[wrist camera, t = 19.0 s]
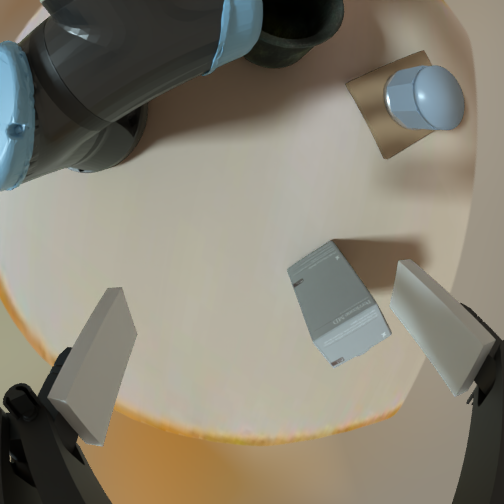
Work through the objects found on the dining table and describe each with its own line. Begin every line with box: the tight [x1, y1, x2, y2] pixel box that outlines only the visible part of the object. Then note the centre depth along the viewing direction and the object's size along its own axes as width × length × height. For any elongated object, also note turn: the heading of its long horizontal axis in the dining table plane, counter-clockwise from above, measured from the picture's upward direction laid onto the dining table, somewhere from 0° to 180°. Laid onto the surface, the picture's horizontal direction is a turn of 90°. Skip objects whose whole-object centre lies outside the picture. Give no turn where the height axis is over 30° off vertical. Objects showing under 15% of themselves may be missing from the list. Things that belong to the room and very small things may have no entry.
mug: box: [244, 0, 344, 68], centre depth 23 cm, size 11×15×12 cm
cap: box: [387, 65, 464, 130], centre depth 28 cm, size 8×8×7 cm
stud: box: [383, 73, 421, 130], centre depth 29 cm, size 9×9×6 cm
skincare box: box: [287, 241, 392, 368], centre depth 36 cm, size 8×7×16 cm
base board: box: [345, 50, 434, 159], centre depth 33 cm, size 12×16×1 cm
